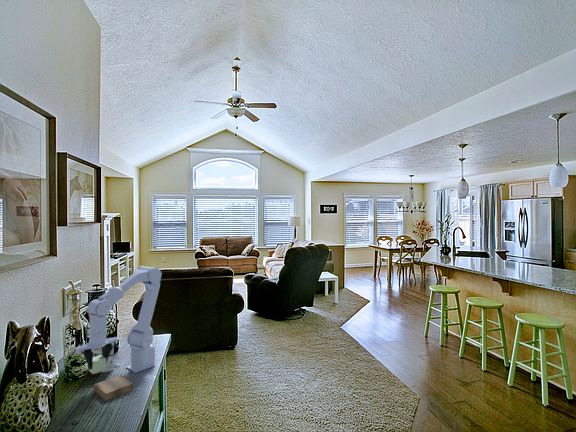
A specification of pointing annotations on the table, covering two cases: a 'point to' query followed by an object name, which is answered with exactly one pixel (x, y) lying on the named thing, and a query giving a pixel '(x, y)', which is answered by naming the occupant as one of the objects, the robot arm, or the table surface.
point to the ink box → (109, 362)
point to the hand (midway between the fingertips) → (97, 366)
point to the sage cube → (98, 364)
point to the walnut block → (113, 387)
